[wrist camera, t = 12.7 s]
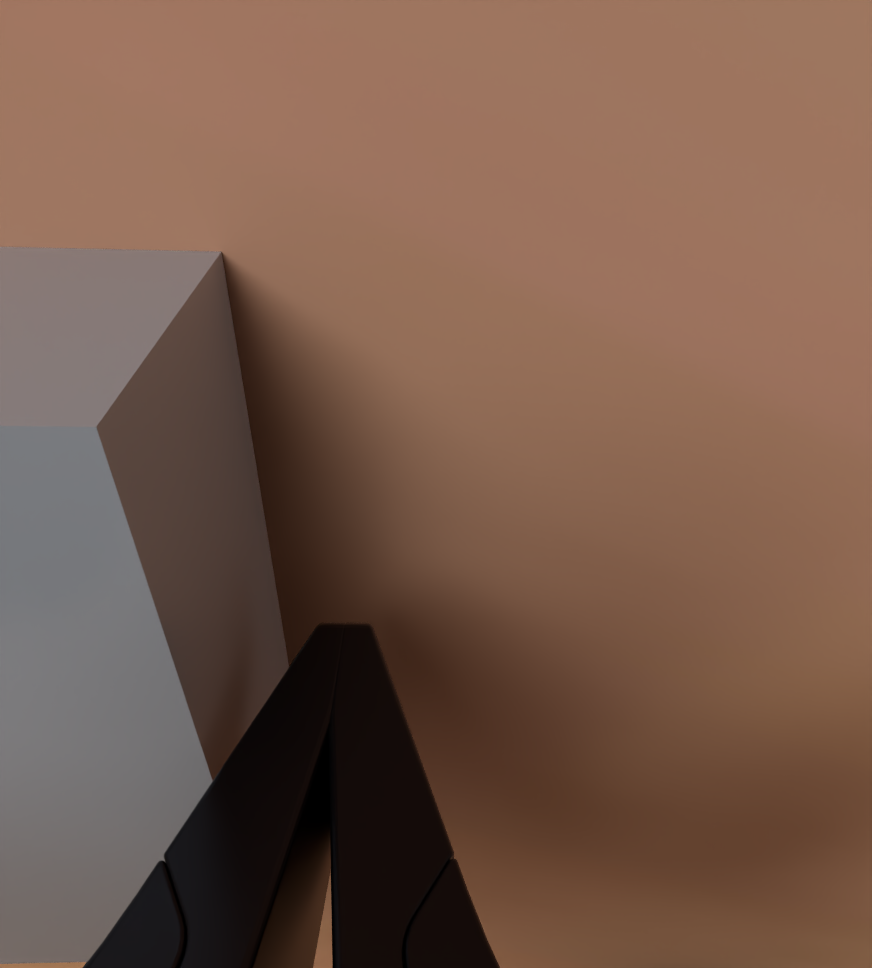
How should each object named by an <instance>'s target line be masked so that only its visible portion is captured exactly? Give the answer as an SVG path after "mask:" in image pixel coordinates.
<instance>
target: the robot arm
mask: <svg viewBox="0 0 872 968" xmlns="http://www.w3.org/2000/svg"><path fill="white" fill-rule="evenodd" d="M164 860H165V861H163V860H160V861H159V862H158V863H157V864H156V866H155V867H154V869H153V870H152V872H151V873H150V875H149V876H148V878H147V879H146V881H145V882H144V884H143V885H142V887H141V888H140V890H139V891H138V893H137V894H136V895H135V897H134V898H133V900H132V901H131V903H130V904H129V905H128V907H127V908H126V910H125V911H124V912H123V914H122V915H121V917H120V918H119V919H118V921H117V922H116V924H115V925H114V927H113V928H112V929H111V931H110V932H109V934H108V935H107V936H106V938H105V939H104V941H103V942H102V943H101V945H100V946H99V947H98V949H97V950H96V951H95V952H94V954H93V955H92V956H91V958H90V959H89V960H88V961H87V963H86V964H85V965H84V967H83V968H313V964H314V959H315V953H316V948H317V942H318V936H319V931H320V925H321V920H322V914H323V909H324V903H325V898H326V892H327V887H328V881H329V876H330V870H331V900H332V955H333V968H500V967H499V965H498V962H497V960H496V958H495V956H494V954H493V951H492V949H491V947H490V945H489V943H488V940H487V938H486V935H485V933H484V930H483V928H482V925H481V923H480V920H479V918H478V915H477V913H476V910H475V908H474V905H473V902H472V900H471V897H470V895H469V892H468V890H467V887H466V884H465V881H464V878H463V876H462V873H461V870H460V867H459V864H458V862H457V860H456V859H454V851H453V849H452V846H451V843H450V840H449V837H448V835H447V832H446V829H445V826H444V824H443V821H442V818H441V815H440V812H439V810H438V807H437V804H436V801H435V798H434V796H433V793H432V790H431V787H430V784H429V782H428V779H427V776H426V773H425V770H424V768H423V765H422V762H421V759H420V757H419V754H418V751H417V748H416V745H415V743H414V740H413V737H412V734H411V731H410V729H409V726H408V723H407V720H406V717H405V715H404V712H403V709H402V706H401V704H400V701H399V698H398V695H397V692H396V690H395V687H394V684H393V681H392V678H391V676H390V673H389V670H388V667H387V664H386V662H385V659H384V656H383V653H382V651H381V648H380V645H379V642H378V639H377V637H376V634H375V631H374V628H373V626H372V625H371V624H369V623H321V624H319V625H318V626H317V627H316V628H315V629H314V631H313V632H312V634H311V635H310V637H309V638H308V640H307V641H306V643H305V644H304V646H303V647H302V649H301V650H300V652H299V653H298V655H297V656H296V658H295V659H294V661H293V662H292V664H291V665H290V667H289V668H288V670H287V671H286V673H285V674H284V676H283V677H282V679H281V680H280V682H279V683H278V684H277V686H276V687H275V689H274V690H273V692H272V693H271V695H270V696H269V698H268V699H267V701H266V702H265V704H264V705H263V707H262V708H261V710H260V711H259V713H258V714H257V716H256V717H255V719H254V720H253V722H252V723H251V725H250V726H249V728H248V729H247V731H246V732H245V734H244V735H243V737H242V738H241V740H240V741H239V743H238V744H237V746H236V747H235V749H234V750H233V752H232V753H231V754H230V756H229V757H228V759H227V760H226V762H225V763H224V765H223V766H222V768H221V769H220V771H219V772H218V774H217V775H216V777H215V778H214V780H213V781H212V783H211V784H210V786H209V787H208V789H207V790H206V792H205V793H204V795H203V796H202V798H201V799H200V801H199V802H198V804H197V805H196V807H195V808H194V810H193V811H192V813H191V814H190V816H189V817H188V819H187V820H186V822H185V823H184V825H183V826H182V827H181V829H180V830H179V832H178V833H177V835H176V836H175V838H174V839H173V841H172V842H171V844H170V845H169V847H168V848H167V850H166V851H165V853H164Z"/></svg>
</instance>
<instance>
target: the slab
mask: <svg viewBox="0 0 872 968" xmlns="http://www.w3.org/2000/svg"><path fill="white" fill-rule="evenodd" d="M288 668H289V663H288V657H287V651H286V645H285V639H284V633H283V626H282V620H281V614H280V608H279V602H278V596H277V590H276V583H275V577H274V571H273V565H272V559H271V553H270V547H269V541H268V534H267V528H266V522H265V516H264V510H263V504H262V498H261V491H260V485H259V479H258V473H257V467H256V461H255V455H254V449H253V442H252V436H251V430H250V424H249V418H248V412H247V406H246V400H245V393H244V387H243V381H242V375H241V369H240V363H239V357H238V351H237V344H236V338H235V332H234V326H233V320H232V314H231V308H230V301H229V295H228V289H227V283H226V277H225V271H224V265H223V259H222V252H213V251H168V250H122V249H77V248H31V247H0V964H13V963H59V962H87V961H88V960H89V959H90V958H91V956H92V955H93V954H94V952H95V951H96V950H97V949H98V947H99V946H100V945H101V943H102V942H103V941H104V939H105V938H106V936H107V935H108V934H109V932H110V931H111V929H112V928H113V927H114V925H115V924H116V922H117V921H118V919H119V918H120V917H121V915H122V914H123V912H124V911H125V910H126V908H127V907H128V905H129V904H130V903H131V901H132V900H133V898H134V897H135V895H136V894H137V893H138V891H139V890H140V888H141V887H142V885H143V884H144V882H145V881H146V879H147V878H148V876H149V875H150V873H151V872H152V870H153V869H154V867H155V866H156V864H157V863H158V862H159V861H160V860H163V861H165V860H164V853H165V851H166V850H167V848H168V847H169V845H170V844H171V842H172V841H173V839H174V838H175V836H176V835H177V833H178V832H179V830H180V829H181V827H182V826H183V825H184V823H185V822H186V820H187V819H188V817H189V816H190V814H191V813H192V811H193V810H194V808H195V807H196V805H197V804H198V802H199V801H200V799H201V798H202V796H203V795H204V793H205V792H206V790H207V789H208V787H209V786H210V784H211V783H212V781H213V780H214V778H215V777H216V775H217V774H218V772H219V771H220V769H221V768H222V766H223V765H224V763H225V762H226V760H227V759H228V757H229V756H230V754H231V753H232V752H233V750H234V749H235V747H236V746H237V744H238V743H239V741H240V740H241V738H242V737H243V735H244V734H245V732H246V731H247V729H248V728H249V726H250V725H251V723H252V722H253V720H254V719H255V717H256V716H257V714H258V713H259V711H260V710H261V708H262V707H263V705H264V704H265V702H266V701H267V699H268V698H269V696H270V695H271V693H272V692H273V690H274V689H275V687H276V686H277V684H278V683H279V682H280V680H281V679H282V677H283V676H284V674H285V673H286V671H287V670H288Z"/></svg>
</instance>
